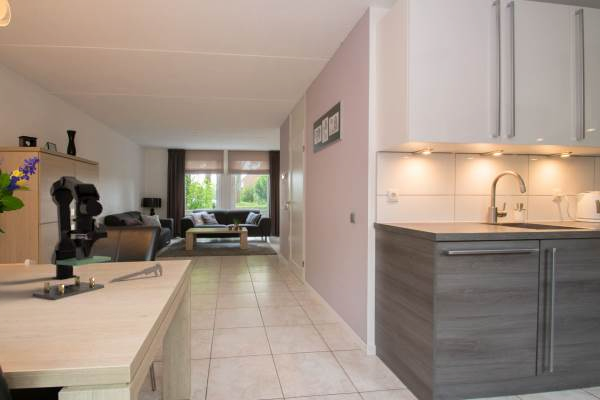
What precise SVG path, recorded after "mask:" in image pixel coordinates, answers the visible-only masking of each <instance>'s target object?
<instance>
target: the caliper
mask: <svg viewBox="0 0 600 400" xmlns="http://www.w3.org/2000/svg"><path fill="white" fill-rule="evenodd" d="M158 272H159V273H158ZM152 273H154V275H155V277H159V275H160V277H162V276H163V266H162V264H161V263H160V262H157V263H155V264H154V265H153V266H149V267H146V268H144V269H143V270H140V271H136V272H132V273H131V272H130V273H129V274H124V275H121V276H118V277H114V278H112V280H110V281H109V283H117V282H121V281H123V280H124V281H125V280H127V279H130V278H135V277H137V276H141V275H145V276H147V275H150V274H152Z"/></svg>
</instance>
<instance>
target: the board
mask: <svg viewBox="0 0 600 400" xmlns="http://www.w3.org/2000/svg"><path fill="white" fill-rule="evenodd" d="M111 260H112V257H111V256H104V255H103V256H101V255H94V246H92V249H91V252H90V254H89V257H85V254H84V251H83V247H79V248H76V258H73V259H66V260H60V261H56V264H59V265H71V266H73V267H78V266H79V267H80V266H83V265H84V266H85V265H90V264H97V263H101V262H106V261H111Z"/></svg>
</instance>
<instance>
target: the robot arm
mask: <svg viewBox="0 0 600 400" xmlns="http://www.w3.org/2000/svg"><path fill="white" fill-rule="evenodd" d="M49 195H50V197H51V201H52V202H53V203H54V205H55V206H56V216H57V233H58V241H57V242H56V244H55V245H54V250H53V252H52V255H51V257H50V264H51V265H54V266H55V275H54V276H52V279H54V280H55V279H56V280H65V279H69V278H75V277H76V276H77V275H76V274H74V266H71V265H59V264H56V261H60V260H66V259H73V258H76V248H79V247H83V251H84V254H85V257H89V254H90V252H91V249H92V247H94V244H95V243H97V241H99V240H101V239H108V238H109V232H108V231H107V229H108V225H106V224H103V223H99V222H97V219H96V218H94V217H98V216H100V215H101V214H102V213H103V210H104V208H103V205H102V203H101V202H100V200H101V199H100V198H101V196H100V193H99V192H98V189H97V187H96V186H95V184H94V183H88V182H87V183H86V182H82V181H81V180H79V179H77V177H75V176H72V175H71V176H68V175H63V176H61V177H60V178H59V180H56V181H55V182H53V183H52V184H51V187H50V189H49ZM73 200H75V202H74V204H75V205H74V206H75V215H74V216H75V218H73V219H72V222H75V226H74V227H75V229H72V222H71V203H72V202H73Z"/></svg>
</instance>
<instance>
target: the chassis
mask: <svg viewBox="0 0 600 400" xmlns="http://www.w3.org/2000/svg"><path fill="white" fill-rule="evenodd" d="M88 279H89V280H88V282H86V281H85V282H84V281H81V276H80V275H76V277H74V283H72V284H68V285H65V284H63V283H61V284H58V287H54V288H50V287H51V286H50V282H49V281H48V282H47V281H46V282H44V283H43V290H42V291H37V292H32V295H31V296H32V297H35V298H41V299H46V300H53V301H56V300H59V299H64V298H67V297H72V296H77V295H80V294H84V293H88V292H92V291H96V290H100V289H104V288H105V284H99V283H95V277H90V278H88Z"/></svg>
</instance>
